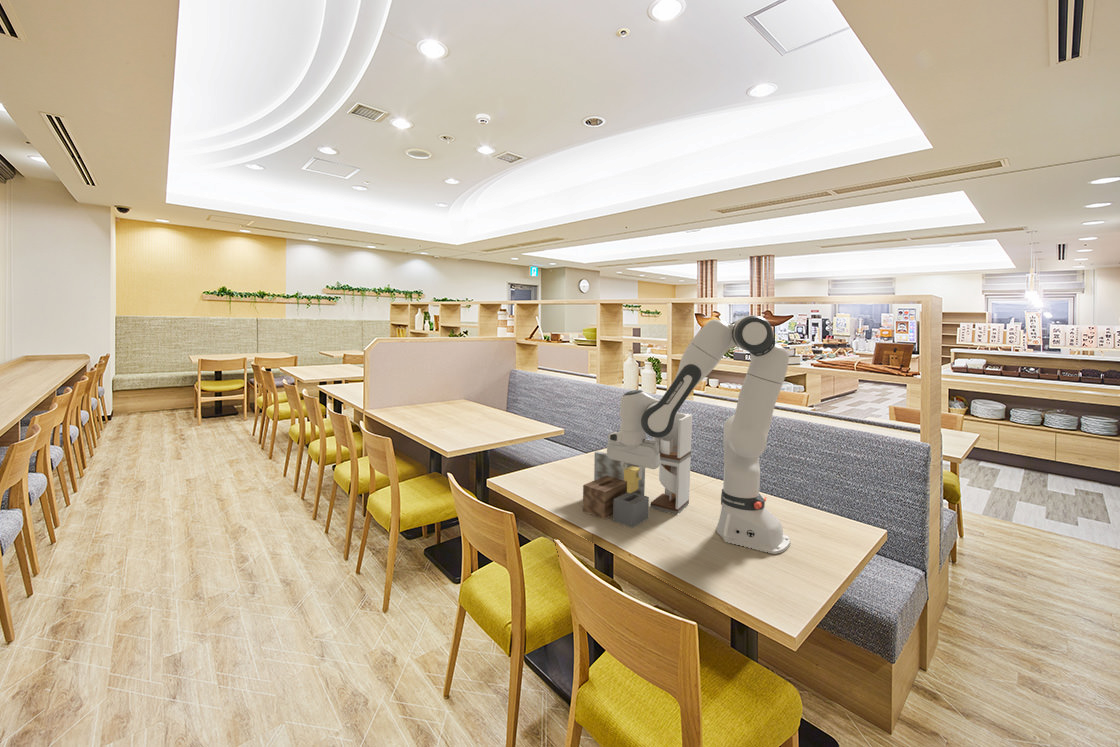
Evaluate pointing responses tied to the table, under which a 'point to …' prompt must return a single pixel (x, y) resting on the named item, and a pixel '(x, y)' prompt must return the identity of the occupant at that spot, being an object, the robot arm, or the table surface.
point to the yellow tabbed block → (631, 478)
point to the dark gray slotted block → (630, 509)
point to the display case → (675, 465)
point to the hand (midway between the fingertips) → (632, 475)
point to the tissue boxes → (606, 486)
